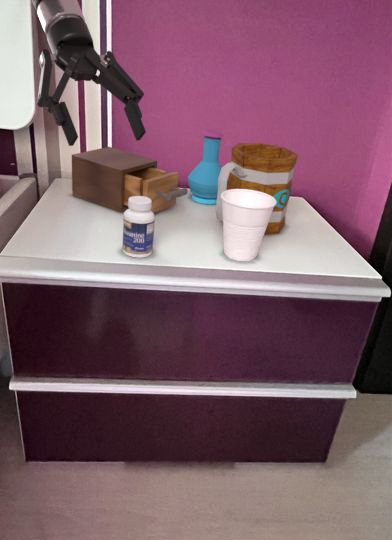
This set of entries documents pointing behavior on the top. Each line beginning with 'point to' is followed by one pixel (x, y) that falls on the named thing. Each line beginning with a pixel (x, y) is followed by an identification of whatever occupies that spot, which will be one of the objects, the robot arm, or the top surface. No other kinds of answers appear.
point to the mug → (260, 177)
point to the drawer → (153, 187)
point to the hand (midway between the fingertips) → (108, 139)
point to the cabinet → (105, 175)
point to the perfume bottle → (207, 170)
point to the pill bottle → (138, 227)
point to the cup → (245, 222)
